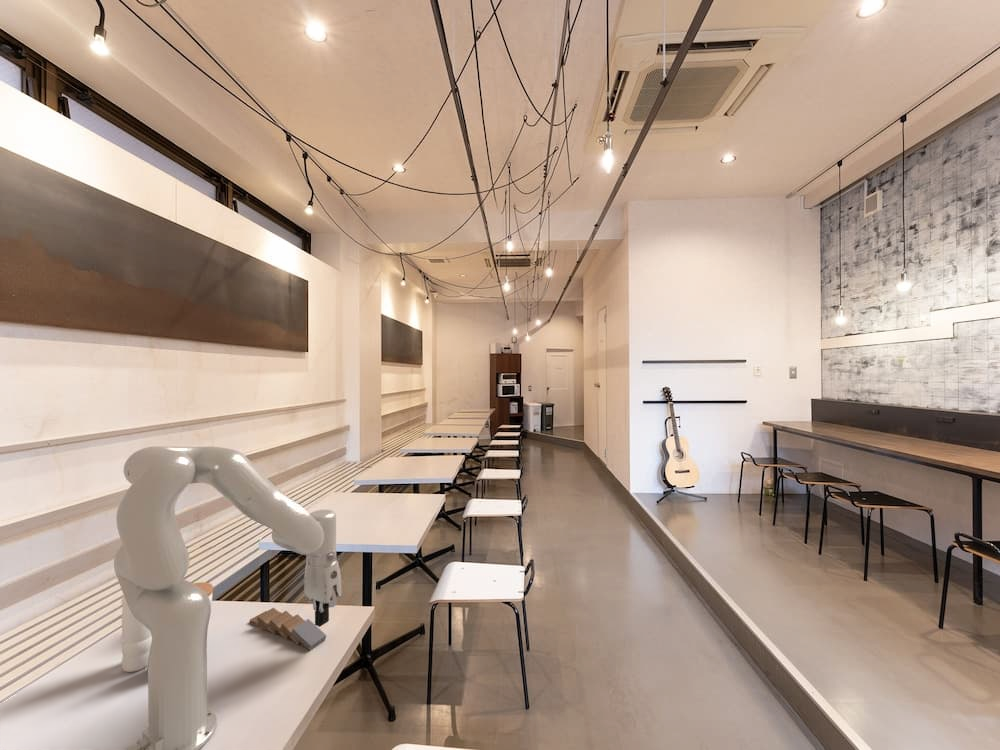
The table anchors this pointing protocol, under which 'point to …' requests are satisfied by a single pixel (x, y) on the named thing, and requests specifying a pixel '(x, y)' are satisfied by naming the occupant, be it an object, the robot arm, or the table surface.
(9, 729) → the table surface
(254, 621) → the domino
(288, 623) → the domino
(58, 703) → the table surface
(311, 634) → the domino
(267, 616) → the domino
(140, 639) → the water bottle
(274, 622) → the domino
